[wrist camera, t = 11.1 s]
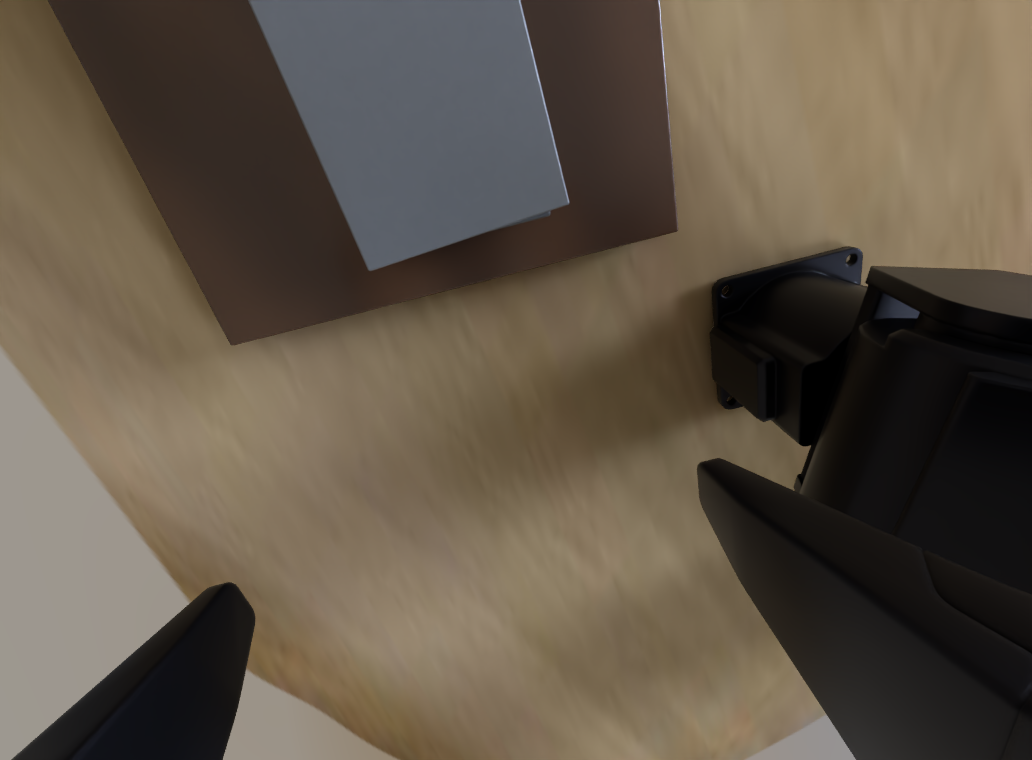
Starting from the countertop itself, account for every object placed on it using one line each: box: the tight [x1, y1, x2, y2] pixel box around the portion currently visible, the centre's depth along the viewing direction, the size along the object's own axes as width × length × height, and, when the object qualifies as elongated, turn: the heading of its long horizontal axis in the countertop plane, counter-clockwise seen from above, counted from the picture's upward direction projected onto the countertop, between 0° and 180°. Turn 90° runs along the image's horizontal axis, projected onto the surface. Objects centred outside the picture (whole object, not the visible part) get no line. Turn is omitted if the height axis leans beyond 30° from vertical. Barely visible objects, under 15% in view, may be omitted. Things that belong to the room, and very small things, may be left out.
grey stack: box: [248, 0, 569, 271], centre depth 14 cm, size 7×11×4 cm, turn 13°
